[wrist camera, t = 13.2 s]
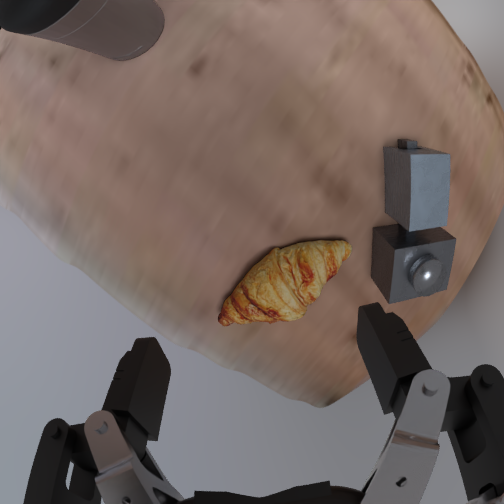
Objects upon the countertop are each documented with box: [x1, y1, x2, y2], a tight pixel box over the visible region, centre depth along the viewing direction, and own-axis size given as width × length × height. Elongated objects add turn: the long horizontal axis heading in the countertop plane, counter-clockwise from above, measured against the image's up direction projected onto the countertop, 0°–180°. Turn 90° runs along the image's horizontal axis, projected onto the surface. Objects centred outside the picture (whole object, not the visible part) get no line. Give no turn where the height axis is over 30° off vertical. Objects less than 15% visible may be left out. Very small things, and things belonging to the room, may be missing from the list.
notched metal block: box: [383, 146, 450, 232], centre depth 30 cm, size 9×6×7 cm, turn 9°
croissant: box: [218, 240, 352, 326], centre depth 37 cm, size 21×10×8 cm, turn 125°
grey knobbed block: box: [371, 139, 456, 304], centre depth 31 cm, size 20×10×9 cm, turn 9°
